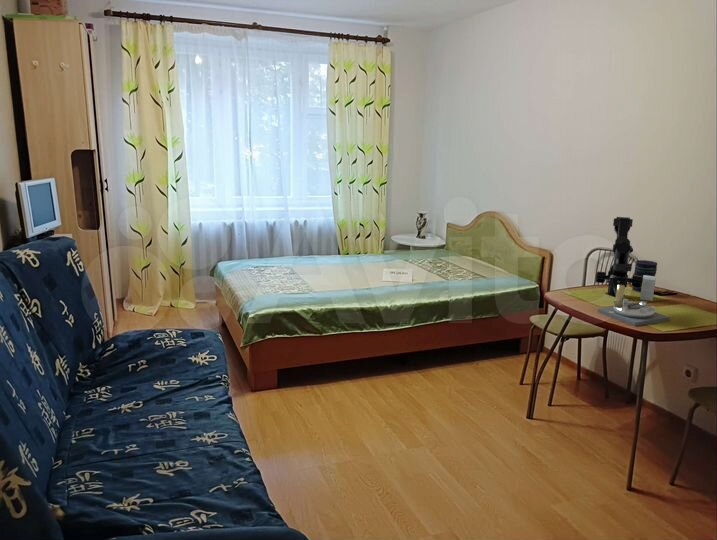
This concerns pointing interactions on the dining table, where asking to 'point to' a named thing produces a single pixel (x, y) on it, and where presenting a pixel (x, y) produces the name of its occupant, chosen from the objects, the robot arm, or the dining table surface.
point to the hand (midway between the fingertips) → (616, 295)
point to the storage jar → (644, 270)
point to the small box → (647, 288)
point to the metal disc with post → (631, 306)
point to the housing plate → (634, 321)
